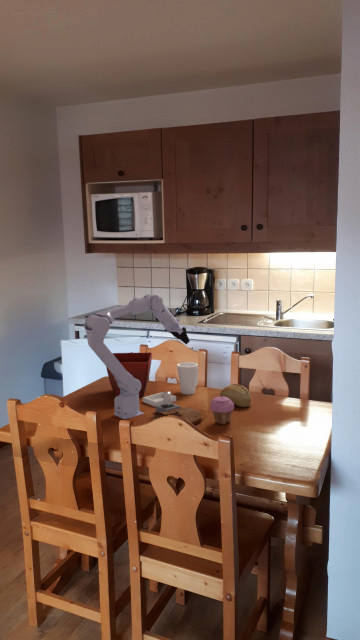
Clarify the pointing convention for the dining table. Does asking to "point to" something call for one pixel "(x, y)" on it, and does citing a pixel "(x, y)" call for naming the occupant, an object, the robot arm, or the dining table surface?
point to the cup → (161, 408)
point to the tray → (157, 399)
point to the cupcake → (222, 409)
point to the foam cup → (187, 377)
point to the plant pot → (133, 369)
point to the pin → (167, 399)
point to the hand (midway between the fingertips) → (183, 340)
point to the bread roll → (237, 395)
